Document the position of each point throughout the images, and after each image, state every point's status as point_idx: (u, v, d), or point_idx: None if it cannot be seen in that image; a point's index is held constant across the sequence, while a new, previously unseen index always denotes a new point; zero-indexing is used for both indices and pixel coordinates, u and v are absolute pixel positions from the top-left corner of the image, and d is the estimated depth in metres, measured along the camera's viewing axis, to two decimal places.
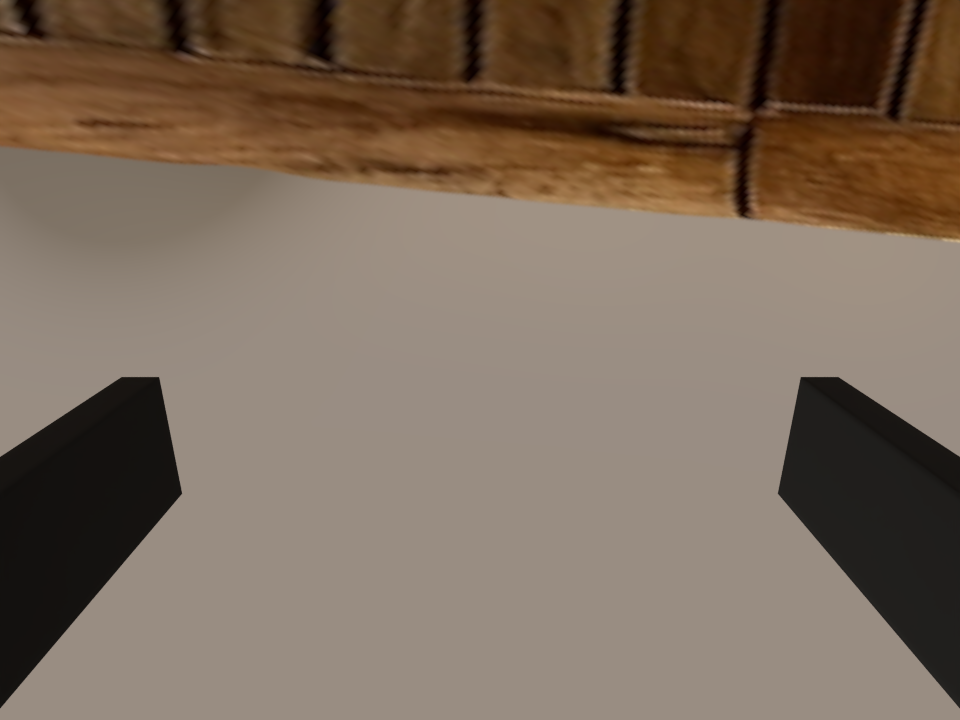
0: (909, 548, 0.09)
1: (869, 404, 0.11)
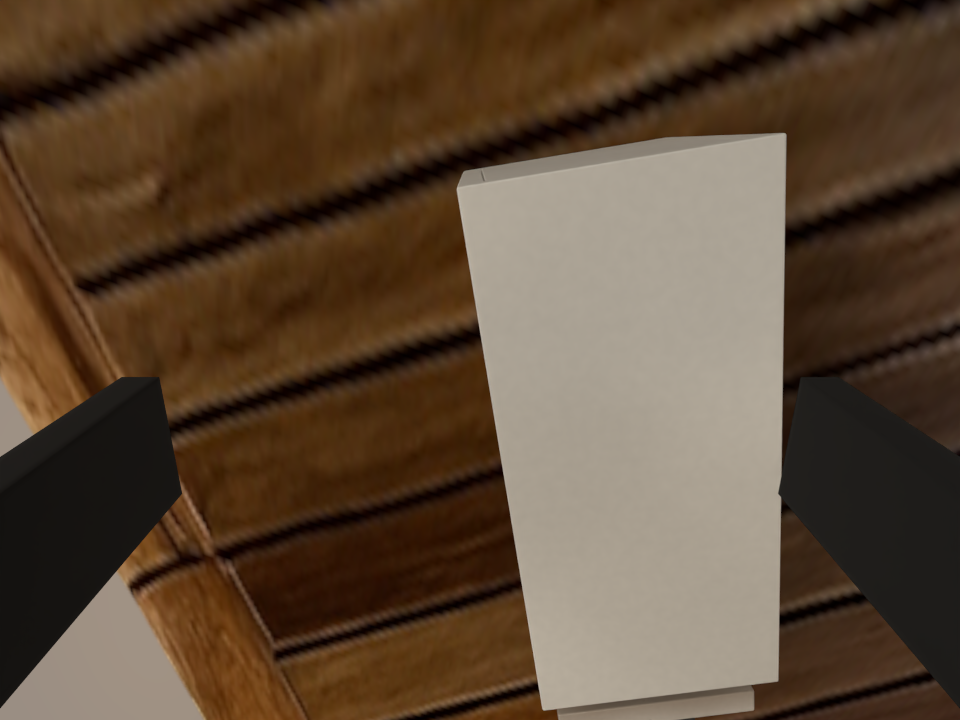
0: (909, 548, 0.09)
1: (869, 404, 0.11)
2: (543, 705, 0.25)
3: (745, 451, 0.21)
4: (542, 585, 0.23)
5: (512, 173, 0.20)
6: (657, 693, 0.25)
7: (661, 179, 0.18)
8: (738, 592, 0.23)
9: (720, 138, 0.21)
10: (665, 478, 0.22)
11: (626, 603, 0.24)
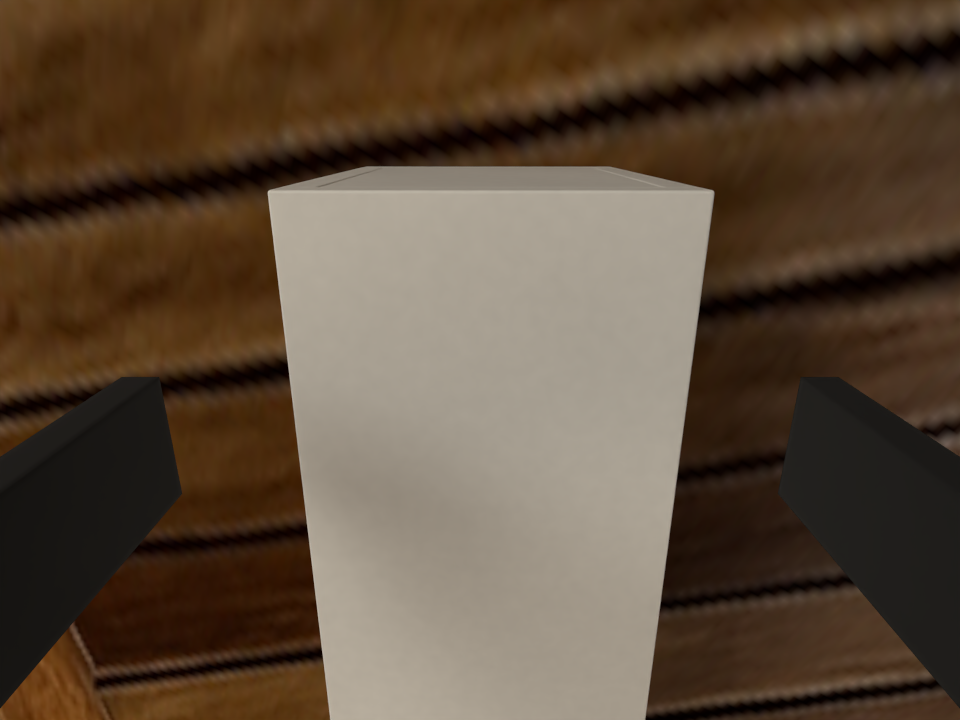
0: (909, 548, 0.09)
1: (869, 404, 0.11)
2: None
3: (618, 577, 0.17)
4: (352, 698, 0.19)
5: (370, 182, 0.16)
6: None
7: (544, 224, 0.14)
8: None
9: (644, 181, 0.16)
10: (515, 595, 0.17)
11: None
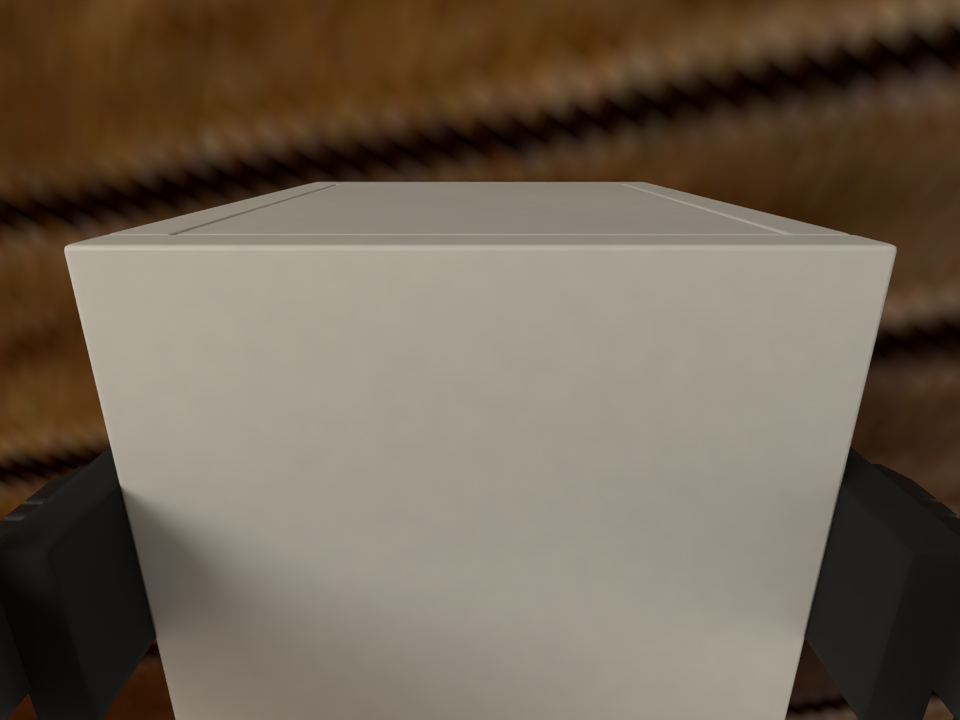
0: None
1: None
2: None
3: None
4: None
5: (281, 219, 0.09)
6: None
7: (579, 306, 0.07)
8: None
9: (731, 216, 0.10)
10: None
11: None
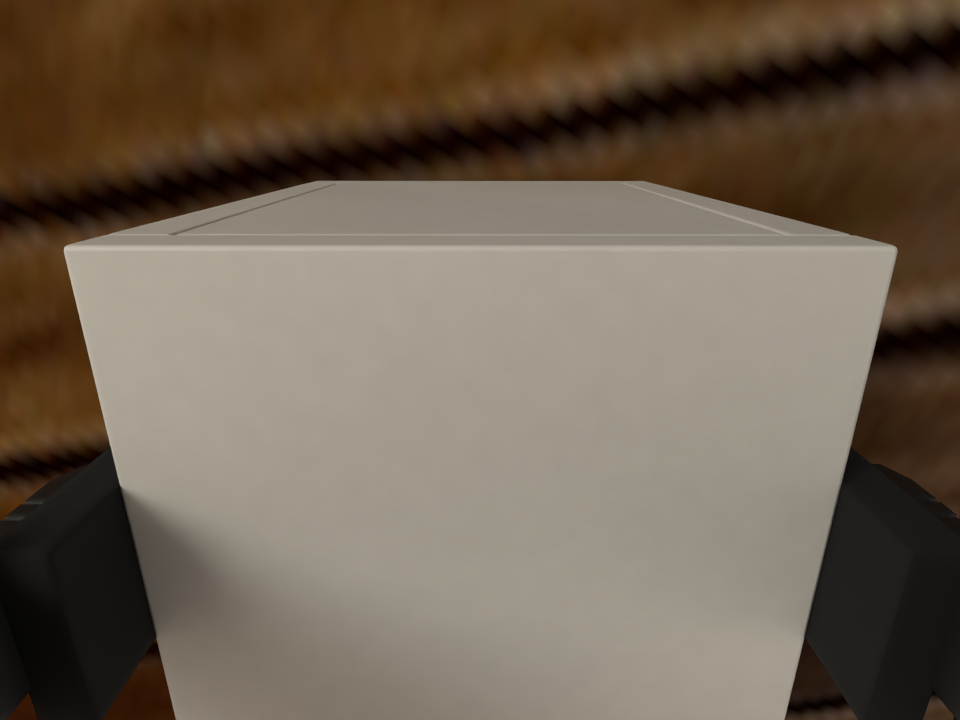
0: None
1: None
2: None
3: None
4: None
5: (281, 219, 0.09)
6: None
7: (579, 307, 0.07)
8: None
9: (732, 216, 0.10)
10: None
11: None
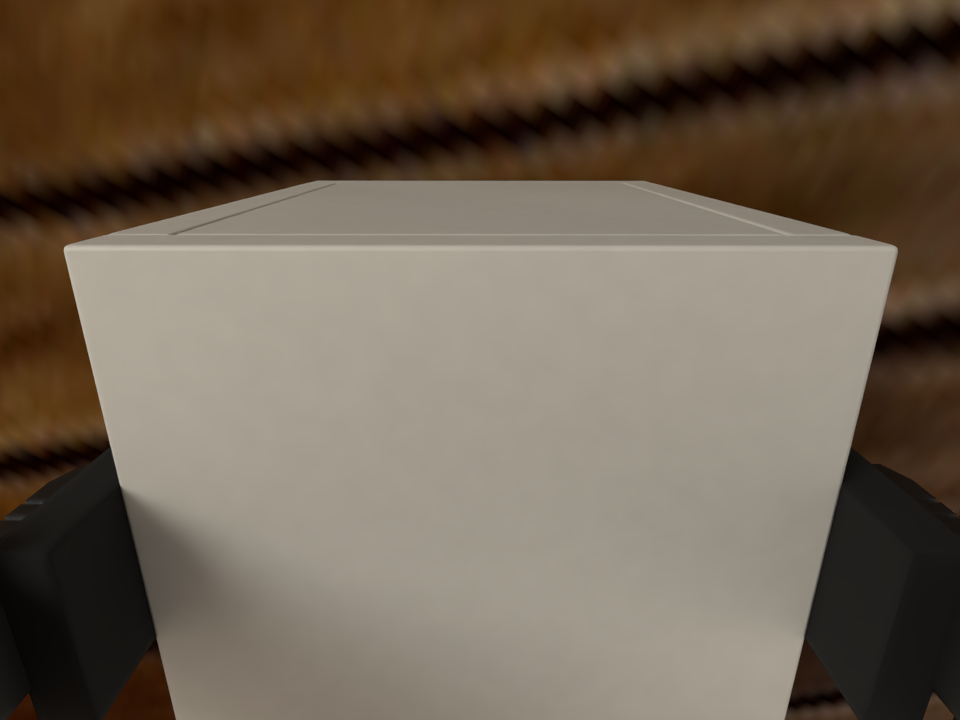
0: None
1: None
2: None
3: None
4: None
5: (281, 219, 0.09)
6: None
7: (579, 307, 0.07)
8: None
9: (732, 216, 0.10)
10: None
11: None
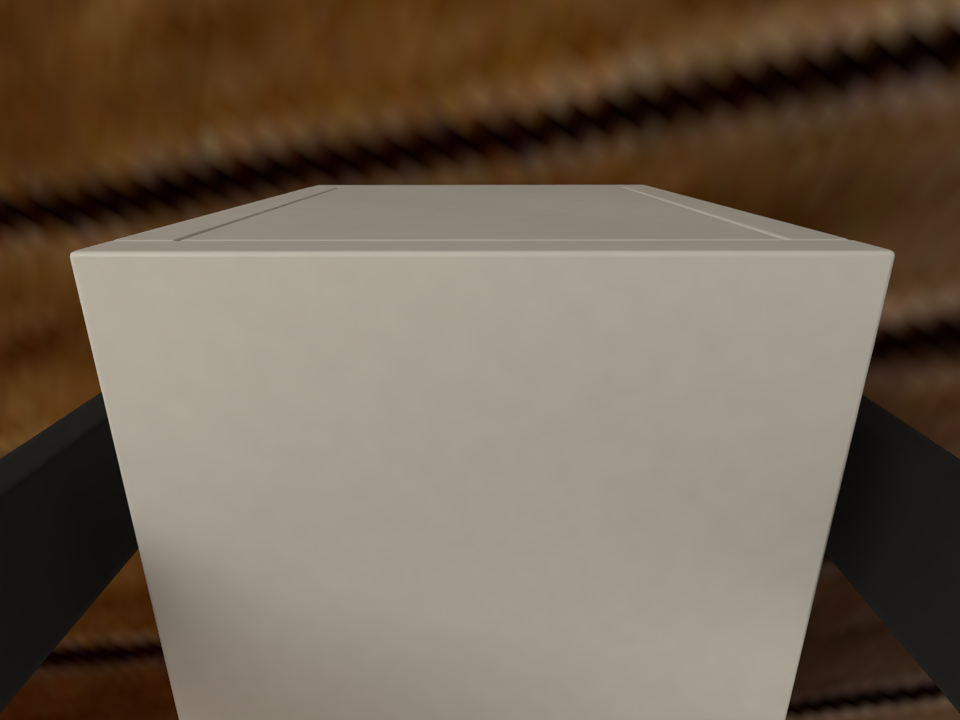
0: (903, 545, 0.09)
1: (864, 403, 0.11)
2: None
3: None
4: None
5: (284, 224, 0.09)
6: None
7: (580, 311, 0.07)
8: None
9: (731, 220, 0.10)
10: None
11: None
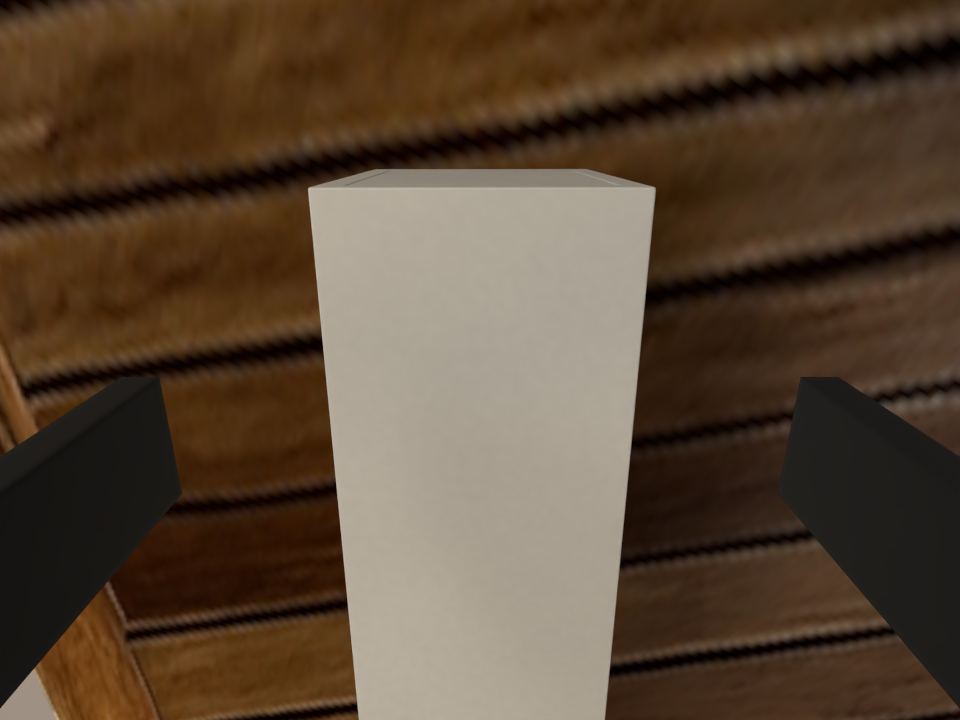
0: (909, 548, 0.09)
1: (869, 404, 0.11)
2: None
3: (588, 504, 0.21)
4: (369, 612, 0.22)
5: (385, 181, 0.19)
6: None
7: (523, 214, 0.17)
8: (570, 644, 0.23)
9: (606, 180, 0.20)
10: (504, 520, 0.21)
11: (454, 640, 0.23)
